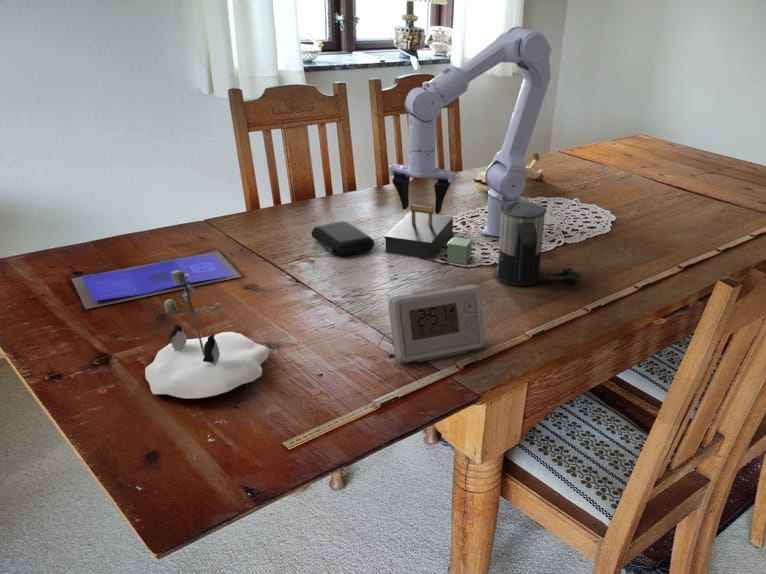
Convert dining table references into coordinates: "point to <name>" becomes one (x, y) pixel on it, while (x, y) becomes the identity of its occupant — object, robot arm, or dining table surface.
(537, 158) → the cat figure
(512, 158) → the robot arm
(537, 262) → the milk frother
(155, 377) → the figurine
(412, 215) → the cover
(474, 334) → the digital clock
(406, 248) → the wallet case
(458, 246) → the block
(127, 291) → the booklet
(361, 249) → the carrying case
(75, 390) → the dining table surface
